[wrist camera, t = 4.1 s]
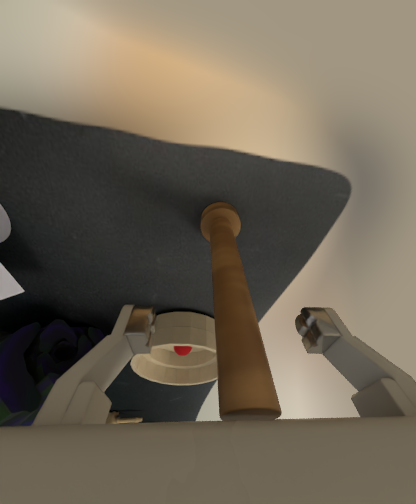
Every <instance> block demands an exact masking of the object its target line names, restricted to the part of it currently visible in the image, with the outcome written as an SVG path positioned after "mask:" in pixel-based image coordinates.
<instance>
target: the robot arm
mask: <svg viewBox="0 0 416 504" xmlns="http://www.w3.org/2000/svg"><path fill="white" fill-rule="evenodd" d="M156 325H157V315H156V314H155V306H154V305H124V306H123V308H122V310H121V312H120V314H119V317H118V319H117V322H116V324H115V326H114V329H113V331H112V333H111V335H107V336H106V337H105V338H104V339H103V340H102V341H100V342H99V343H98V344H97V345H96V346H95V347H94V348H93V349H91V350H90V351H89V352H88V353H87V354H86V355H85V356H84V357H82V358H81V359H80V360H79V361H78V362H77V363H76V364H74V365H73V366H72V367H71V368H70V369H69V370H68V371H67V372H65V373H64V374H63V375H62V376H61V377H60V378H59V379H57V380H56V382H55V384H54V386H53V388H52V389H51V391H50V393H49V395H48V396H47V398H46V400H45V402H44V404H43V405H42V407H41V409H40V411H39V412H38V414H37V416H36V418H35V420H34V421H33V423H32V425H31V426H2V427H0V504H416V382H415V381H414V379H413V378H412V377H411V376H410V375H408V374H407V373H405V372H404V371H403V370H401V369H400V368H398V367H397V366H395V365H394V364H393V363H392V362H390V361H388V360H387V359H386V358H385V357H383V356H382V355H380V354H379V353H378V352H376V351H375V350H374V349H372V348H371V347H369V346H368V345H366V344H365V343H364V342H362V341H361V340H360V339H358V338H357V337H355V336H352V335H351V333H350V332H349V331H348V329H347V328H346V326H345V325H344V323H343V322H342V320H341V319H340V318H339V316H338V315H337V313H336V312H335V311H334V310H333V309H332V308H319V307H312V308H310V307H309V308H308V307H305V308H302V310H301V314H300V315H298V316H297V318H296V320H295V325H296V329H297V331H298V333H299V334H300V335H301V336H302V337H303V338H302V342H303V344H304V346H305V349H306V351H307V353H316V354H317V353H319V354H323V355H324V356H325V357H326V358H327V359H328V360H329V361H330V362H331V363H332V365H333V366H334V367H335V368H336V369H337V370H338V371H339V372H340V373H341V374H342V375H343V376H344V377H345V378H346V379H347V380H348V381H349V382H350V383H351V384H352V385H353V386H354V387H355V388H356V389H357V390H358V391H359V392H357V393H356V394H354V395H352V398H351V399H352V401H353V403H354V405H355V407H356V409H357V411H358V413H359V415H360V416H361V417H353V418H315V419H314V418H313V419H276V420H275V419H274V420H235V421H202V422H201V421H196V422H158V423H119V424H106V420H107V417H108V414H109V410H110V407H111V404H112V403H111V401H110V399H109V398H108V397H107V396H106V395H105V393H104V391H105V390H106V389H107V388H108V386H109V385H110V384H111V383H112V381H113V380H114V379H115V378H116V376H117V375H118V374H119V373H120V371H121V370H122V369H123V368H124V366H125V365H126V364H127V363H128V361H129V360H130V359H131V358H132V356H133V354H151V349H152V345H153V336H152V335H153V334H154V333H155V331H156Z"/></svg>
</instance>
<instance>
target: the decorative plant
mask: <svg viewBox="0 0 416 504" xmlns="http://www.w3.org/2000/svg"><path fill="white" fill-rule="evenodd" d="M104 338H105V335H104V334H103V333H102V331H101V330H100V329H96V328H93V327H89V328H86V327H69V326H68V325H67V323H66V322H65V321H64V320H60V319H55V320H54V321H52V322H51V323H50V324H48V325H47V326H46V327H44V328H41V326H40V324H39V323H38V322H35V323H32V324H30V325H27V326H25V327H22V328H21V329H19V330H18V331H16V332H15V333H13V334H11V333H8V332H6V331H0V427H2V426H31V425H32V423H33V421H34V420H35V418H36V416H37V414H38V412H39V411H40V409H41V407H42V405H43V404H44V402H45V400H46V398H47V396H48V395H49V393H50V391H51V389H52V388H53V386H54V384H55V382H56V380H57V379H59V378H60V377H61V376H62V375H63V374H64V373H65V372H67V371H68V370H69V369H70V368H71V367H72V366H73V365H74V364H76V363H77V362H78V361H79V360H80V359H81V358H82V357H84V356H85V355H86V354H87V353H88V352H89V351H90V350H91V349H93V348H94V347H95V346H96V345H97V344H98V343H99V342H100V341H102V340H103V339H104Z"/></svg>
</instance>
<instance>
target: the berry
mask: <svg viewBox="0 0 416 504" xmlns="http://www.w3.org/2000/svg"><path fill="white" fill-rule="evenodd" d="M191 349H192V347H191V346H174V350H175V352H176V353H177V354H178V355H180V356H185V355H187V354H189V353H190V351H191Z"/></svg>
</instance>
